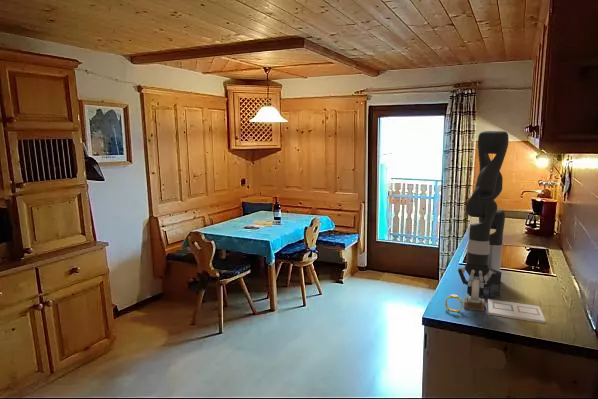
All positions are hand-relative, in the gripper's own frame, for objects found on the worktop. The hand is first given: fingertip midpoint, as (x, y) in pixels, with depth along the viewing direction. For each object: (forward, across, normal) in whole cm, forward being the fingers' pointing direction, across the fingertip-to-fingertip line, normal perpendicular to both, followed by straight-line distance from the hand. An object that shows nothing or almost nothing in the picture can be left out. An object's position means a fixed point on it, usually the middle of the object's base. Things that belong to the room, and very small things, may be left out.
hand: (474, 295), depth 160 cm
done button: (+4, 0, 0) cm, 4 cm away
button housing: (+4, 0, 0) cm, 4 cm away
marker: (+1, 0, 0) cm, 1 cm away
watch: (+5, +7, +8) cm, 12 cm away
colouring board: (+4, -14, -2) cm, 15 cm away
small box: (+5, -4, -20) cm, 21 cm away
